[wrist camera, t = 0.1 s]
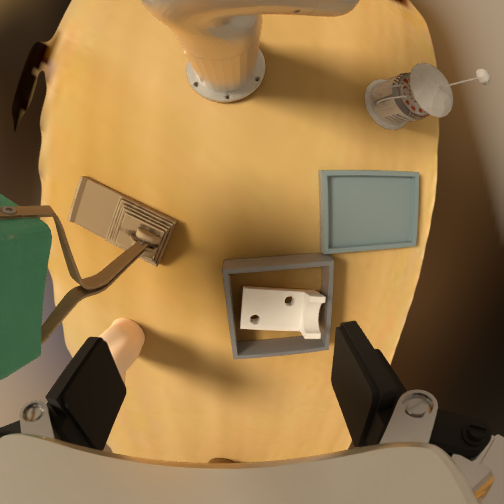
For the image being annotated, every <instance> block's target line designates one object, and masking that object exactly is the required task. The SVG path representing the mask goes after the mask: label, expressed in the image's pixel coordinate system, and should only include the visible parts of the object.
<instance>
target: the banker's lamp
mask: <svg viewBox="0 0 504 504" xmlns="http://www.w3.org/2000/svg"><path fill="white" fill-rule="evenodd" d="M37 217H53V218H54V221H55V224H56V228H57V232H58V236H59V240H60V243H61V247H62V250H63V254H64V257H65V260H66V264H67V267H68V270H69V273H70V275H71V277H72V278H73V279H74V280H75V281H76V282H77V283H78V284H80V285H81V286H77V287H75V288H73V289H72V290H70V291H69V292H68V293H67V294H66V295H65V296H64V298H63V299H62V300H61V301H60V303H59V304H58V305H57V307H56V308H55V309H54V311H53V312H52V313H51V315H50V316H49V317H48V319H47V320H46V321H45V323H44V324H43V325H42V311H43V299H44V289H45V281H46V273H47V267H48V260H49V254H50V249H51V242H52V235H51V230H50V228H49V227H48V225H47V224H46V223H44V222H43V221H42V220H40V219H38V218H37ZM68 221H70V222H74V223H76V224H78V225H80V226H82V227H83V228H85V229H87V230H89V231H91V232H93V233H94V234H96V235H98V236H100V237H102V238H104V239H105V240H106V241H107V242H109V243H111V244H113V245H115V246H117V247H119V248H121V249H123V250H125V252H123V253H122V254H121V255H120V256H119V257H117V258H116V259H115V260H114V261H113V262H111V263H110V264H109V265H108V266H107V267H105V268H104V269H103V270H102V271H101V272H99V273H98V274H96V275H94V276H91V277H88V278H84V279H81V277H80V274H79V272H78V269H77V266H76V264H75V261H74V258H73V256H72V253H71V250H70V247H69V244H68V241H67V238H66V235H65V232H64V228H63V226H62V224H61V222H60V220H59V218H58V217H57V215H56V214H55V212H54V211H53V209H52V208H51V207H50V206H18V205H17V204H15V203H13V202H12V201H11V200H9V199H8V198H6V197H5V196H3V195H2V194H0V380H1V379H4V378H6V377H7V376H9V375H10V374H12V373H13V372H15V371H17V370H18V369H20V368H21V367H23V366H25V365H26V364H28V363H29V362H31V361H33V360H34V359H36V358H37V357H39V356H40V354H41V344H42V343H43V342H45V341H46V340H47V339H48V338H49V336H50V335H51V334H52V333H53V331H54V330H55V329H56V328H57V327H58V325H59V324H60V323H61V322H62V321H63V319H64V318H65V317H66V316H67V315H68V314H69V312H70V311H71V310H72V309H73V308H74V307H75V305H76V304H77V303H78V302H79V301H81V300H82V299H84V298H86V297H88V296H92V295H95V294H98V293H100V292H102V291H104V290H106V289H107V288H108V287H109V286H110V285H111V284H112V283H113V282H114V281H115V280H116V279H117V278H118V277H119V276H120V275H121V274H122V273H123V272H124V271H125V270H126V269H127V268H128V267H129V266H130V265H131V264H132V263H133V262H134V261H135V260H136V259H137V258H140V259H142V260H144V261H146V262H148V263H150V264H152V265H154V266H156V267H157V266H158V265H159V263H160V261H161V258H162V256H163V253H164V251H165V248H166V246H167V244H168V241H169V239H170V236H171V234H172V232H173V229H174V227H175V225H176V222H177V220H175V219H173V218H171V217H169V216H167V215H165V214H162V213H160V212H158V211H156V210H154V209H152V208H150V207H148V206H146V205H144V204H142V203H140V202H138V201H136V200H133V199H131V198H129V197H127V196H125V195H123V194H121V193H119V192H117V191H115V190H113V189H111V188H109V187H107V186H105V185H103V184H100V183H98V182H96V181H94V180H92V179H90V178H88V177H86V176H83V177H80V180H79V183H78V186H77V189H76V193H75V196H74V199H73V203H72V206H71V210H70V213H69V217H68Z"/></svg>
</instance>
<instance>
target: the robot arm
mask: <svg viewBox="0 0 504 504" xmlns="http://www.w3.org/2000/svg"><path fill="white" fill-rule="evenodd" d="M140 1H141V3H142V4H143V5H144V7H145V8H146V9H147V10H148V11H149V12H150V13H151V14H152V15H153V16H155V17H156V18H157V19H158V20H159V21H161V22H162V23H164V24H165V25H167V26H168V27H169V28H170V29H171V30H172V32H173V33H174V35H175V37H176V38H177V40H178V42H179V44H180V46H181V48H182V49H183V51H184V53H185V55H186V57H187V58H188V62H187V67H186V73H187V78H188V81H189V83H190V85H191V87H192V88H193V89H194V90H195V91H196V93H198V94H199V95H200V96H202V97H204V98H206V99H208V100H211V101H214V102H221V103H225V102H234V101H238V100H241V99H243V98H245V97H247V96H249V95H250V94H252V93H253V92H254V91H255V90H256V89H257V88H258V87H259V85H260V84H261V82H262V80H263V78H264V74H265V68H266V65H265V59H264V56H263V54H262V52H261V50H260V49H259V43H260V36H261V29H262V14H285V15H307V16H323V17H335V16H341V15H344V14H347V13H349V12H350V11H351V10H353V9H354V8H355V6H356V5H357V4H358V2H359V0H140ZM256 79H258V80H259V81H255V80H256ZM196 85H198V86H197V87H196ZM226 97H229V99H227V98H226ZM331 382H332V386H333V389H334V392H335V394H336V397H337V400H338V402H339V405H340V408H341V410H342V413H343V416H344V419H345V421H346V424H347V427H348V430H349V433H350V435H351V438H352V441H353V444H354V446H355V447H360V448H355V449H350V450H344V451H339V452H334V453H328V454H322V455H316V456H310V457H303V458H295V459H287V460H278V461H267V462H252V463H188V462H174V461H163V460H154V459H146V458H139V457H132V456H126V455H120V454H115V453H110V452H105V451H102V450H103V449H104V447H105V444H106V442H107V439H108V437H109V434H110V432H111V429H112V427H113V424H114V422H115V419H116V417H117V414H118V412H119V410H120V407H121V405H122V403H123V400H124V398H125V396H126V387H125V384H124V382H123V380H122V378H121V375H120V373H119V371H118V368H117V366H116V364H115V361H114V359H113V356H112V354H111V351H110V349H109V346H108V344H107V342H106V341H104V339H103V338H101V337H89V338H88V339H87V340H86V341H85V343H84V344H83V345H82V347H81V348H80V349H79V351H78V352H77V353H76V355H75V356H74V357H73V359H72V360H71V361H70V363H69V364H68V366H67V367H66V369H65V370H64V371H63V373H62V374H61V375H60V377H59V378H58V379H57V381H56V383H55V384H54V385H53V387H52V388H51V390H50V391H49V392H48V394H47V395H46V399H47V401H48V403H47V404H45V403H44V402H43V401H40V400H34V401H31V402H29V403H27V404H26V405H25V406H23V408H22V409H21V412H20V420H19V421H17V422H14V423H12V424H9V425H7V426H4V427H1V428H0V504H504V437H502V436H500V435H498V434H497V435H496V437H495V436H493V435H492V431H491V428H490V426H489V425H488V424H487V423H486V422H485V421H483V420H481V419H478V418H473V417H468V416H464V415H460V414H456V413H452V412H448V411H444V410H441V409H438V403H437V401H436V399H435V397H434V396H433V395H431V394H430V393H429V392H426V391H423V390H411V391H408V392H407V391H406V389H405V388H404V386H403V384H402V383H401V381H400V380H399V378H398V377H397V375H396V374H395V372H394V371H393V369H392V367H391V366H390V364H389V363H388V361H387V360H386V358H385V357H384V355H383V354H382V352H381V351H380V350H379V349H374V348H373V346H372V345H371V343H370V342H369V340H368V339H367V337H366V336H365V334H364V333H363V331H362V330H361V328H360V327H359V325H358V324H357V322H356V321H350V322H344V323H341V325H340V327H337V328H336V334H335V345H334V356H333V366H332V375H331ZM471 489H472V490H471Z"/></svg>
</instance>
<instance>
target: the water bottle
mask: <svg viewBox="0 0 504 504" xmlns="http://www.w3.org/2000/svg"><path fill="white" fill-rule="evenodd" d="M99 337H101V338H103V339H104V341H106V342H107V344H108V346H109V349H110V351H111V354H112V356H113V359H114V361H115V364H116V366H117V368H118V371H119V373H120V375H121V378H122V380H123V382H124V384H125V376H126V371H127V370H128V368H129V367H130V366H131V365H132V364H133V362H134V361H135V360H136V359H137V358H138V356H139V354H140V351H141V349H142V346H143V344H144V341H145V335H144V332H143V330H142V329H141V327H140V326H139V325H138V324H137V323H136V322H134V321H132V320H130V319H127V318H119V319H116V320H115V321H114V322H113V323H112V325H111V326H110V328H108V329H107V330H105V331H104V332H103V333H102V334H101V335H100V336H99Z"/></svg>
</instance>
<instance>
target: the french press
mask: <svg viewBox="0 0 504 504" xmlns="http://www.w3.org/2000/svg"><path fill="white" fill-rule="evenodd" d="M399 75H400V76H399V77H401V78H400V79H399V78H398V75H397V76H395V77H393V78H391V79H389V80H385V79H379V80H375V81H373V82H372V83H371V84H369V85H368V86H367V89H366V92H365V95H364V96H365V106H366V108H367V110H368V113H369V115H370V116H371V117H372V119H373V120H374V121H375V122H376V123H377V124H378V125H380V126H382V127H383V128H385V129H391V130H396V129H399V128H402V127H403V126H404V125H405V124H406V123H407V122H409V121H410V122H411V120H412V121H417V120H420V119H423V118H425V117H426V116H428V115H432V116H436V117H439V118H440V117H443V116H446V115H447V114H448V113H449V112H450V111H451V109H452V105H453V95H452V90H451V87H450V86H451V85H455V84H459V83H463V82H467V81H471V80H475V79H478V80H479V81H480V83H481V84H483V85H486V84H488V83H489V81H490V76H489V75H488V73H487V71H486V70H484V69H478V70H477V71H476V75H477V77H476V78H472V79H468V80H464V81H460V82H456V83H453V84H449V83H448V81H447V79H446V78H445V76H444V75H443V74H442V72H440V71H439V70H438V69H437V68H435V67H434V66H432V65H429V64H427V63H421V64H417V65H416V66H415V67H414V68H412V71H411V73H402V74H399ZM401 75H403V76H401ZM395 78H396V79H398V80H399V82H398V81H396V80H394V79H395ZM393 81H395V82H396V83H398V85H397V84H395V83H394V82H393ZM410 112H411V115H410ZM412 114H414V115H413V117H412ZM415 115H416V118H415V119H413V118H414V117H415ZM409 116H410V117H409ZM418 116H420V117H419V118H418ZM411 117H412V118H411ZM417 118H418V119H417ZM416 119H417V120H416Z"/></svg>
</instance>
